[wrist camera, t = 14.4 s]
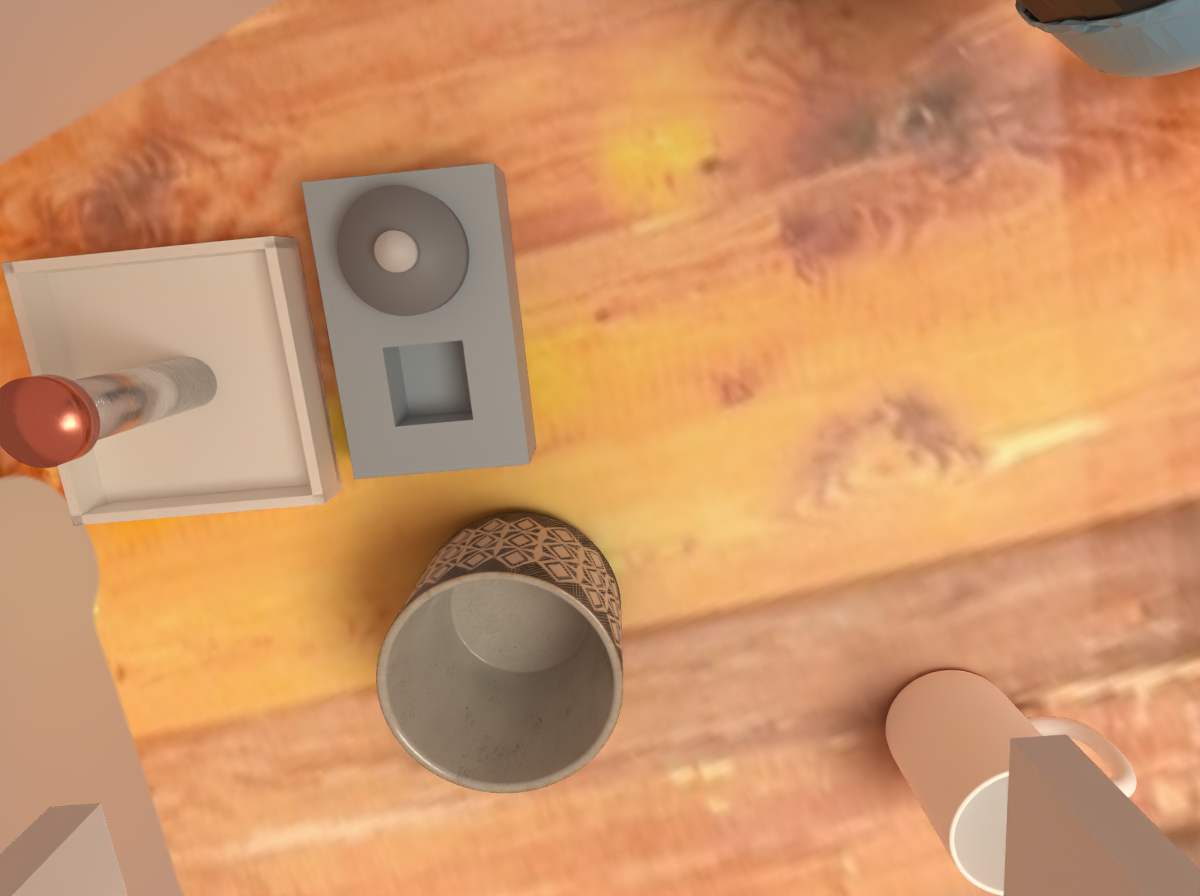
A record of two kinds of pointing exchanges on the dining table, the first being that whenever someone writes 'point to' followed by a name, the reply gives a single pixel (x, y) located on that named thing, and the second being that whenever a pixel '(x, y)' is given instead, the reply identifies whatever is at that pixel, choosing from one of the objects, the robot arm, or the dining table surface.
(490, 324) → the block
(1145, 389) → the dining table surface
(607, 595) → the planter
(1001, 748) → the cup
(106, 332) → the tray
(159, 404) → the lock pin
